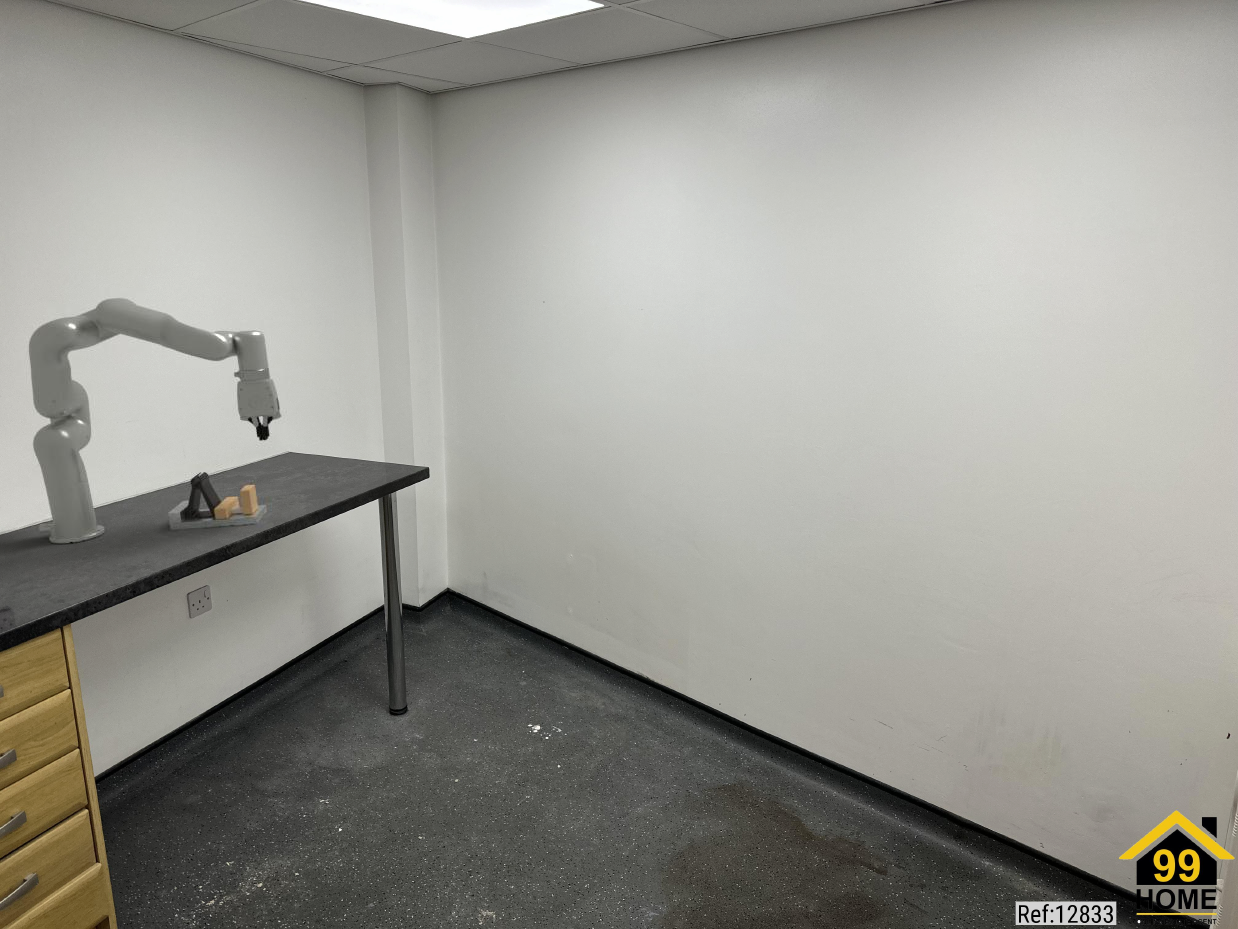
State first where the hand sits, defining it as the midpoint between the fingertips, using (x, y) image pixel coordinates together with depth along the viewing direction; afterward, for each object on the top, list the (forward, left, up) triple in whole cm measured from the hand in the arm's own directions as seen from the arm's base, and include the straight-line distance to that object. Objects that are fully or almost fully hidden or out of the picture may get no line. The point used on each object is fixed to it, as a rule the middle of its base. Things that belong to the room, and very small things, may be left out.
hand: (263, 439), depth 220 cm
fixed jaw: (-25, 0, -21) cm, 32 cm away
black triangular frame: (-18, 0, -21) cm, 28 cm away
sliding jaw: (-9, 0, -21) cm, 23 cm away
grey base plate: (-15, 0, -23) cm, 27 cm away
